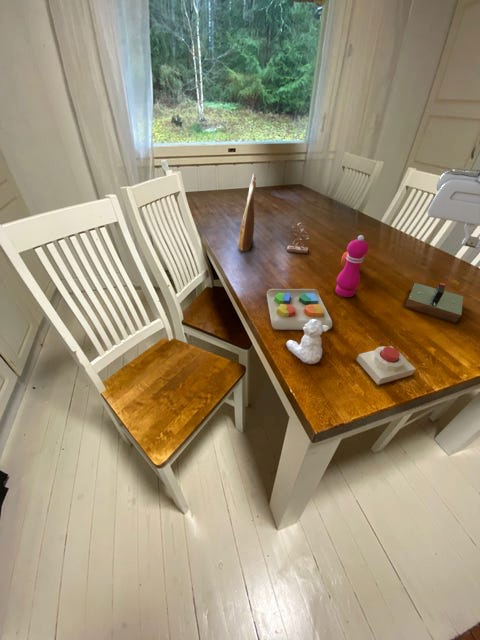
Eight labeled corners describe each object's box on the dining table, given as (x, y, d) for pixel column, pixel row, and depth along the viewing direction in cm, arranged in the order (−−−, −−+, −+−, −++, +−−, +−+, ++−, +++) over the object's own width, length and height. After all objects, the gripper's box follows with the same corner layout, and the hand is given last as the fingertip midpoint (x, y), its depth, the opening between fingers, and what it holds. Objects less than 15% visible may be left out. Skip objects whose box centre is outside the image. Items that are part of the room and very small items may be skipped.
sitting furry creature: (318, 341, 74) (328, 305, 66) (331, 365, 67) (344, 328, 60) (285, 345, 73) (290, 308, 65) (295, 369, 66) (302, 332, 58)
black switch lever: (438, 302, 83) (444, 292, 81) (432, 300, 84) (438, 290, 82) (440, 293, 87) (445, 283, 85) (434, 292, 88) (440, 282, 86)
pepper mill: (329, 289, 94) (343, 232, 82) (345, 284, 97) (362, 229, 84) (343, 300, 89) (361, 241, 77) (360, 295, 92) (380, 237, 79)
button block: (388, 351, 71) (394, 340, 68) (412, 374, 65) (419, 363, 63) (356, 360, 69) (360, 349, 66) (377, 384, 63) (383, 373, 60)
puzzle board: (317, 294, 92) (319, 285, 90) (332, 330, 77) (335, 321, 75) (266, 293, 92) (266, 284, 90) (271, 330, 77) (272, 320, 75)
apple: (361, 274, 103) (368, 254, 98) (339, 272, 104) (345, 252, 99) (359, 264, 109) (365, 245, 104) (338, 262, 110) (343, 244, 105)
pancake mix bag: (257, 237, 130) (260, 171, 113) (251, 254, 115) (255, 182, 98) (243, 236, 131) (244, 170, 113) (236, 253, 116) (236, 181, 99)
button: (389, 350, 66) (392, 345, 65) (400, 361, 64) (403, 355, 63) (377, 353, 65) (379, 348, 64) (387, 364, 63) (390, 359, 62)
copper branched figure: (307, 249, 120) (312, 222, 112) (307, 253, 117) (312, 225, 109) (287, 247, 121) (290, 220, 114) (286, 251, 118) (290, 223, 111)
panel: (458, 303, 88) (463, 295, 86) (456, 322, 81) (461, 314, 79) (411, 290, 95) (415, 282, 93) (404, 306, 87) (408, 298, 85)
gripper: (443, 169, 52) (413, 239, 60) (592, 185, 43) (532, 264, 51) (446, 164, 56) (417, 230, 64) (583, 178, 47) (528, 253, 55)
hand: (469, 246), depth 58 cm, fingers closed
